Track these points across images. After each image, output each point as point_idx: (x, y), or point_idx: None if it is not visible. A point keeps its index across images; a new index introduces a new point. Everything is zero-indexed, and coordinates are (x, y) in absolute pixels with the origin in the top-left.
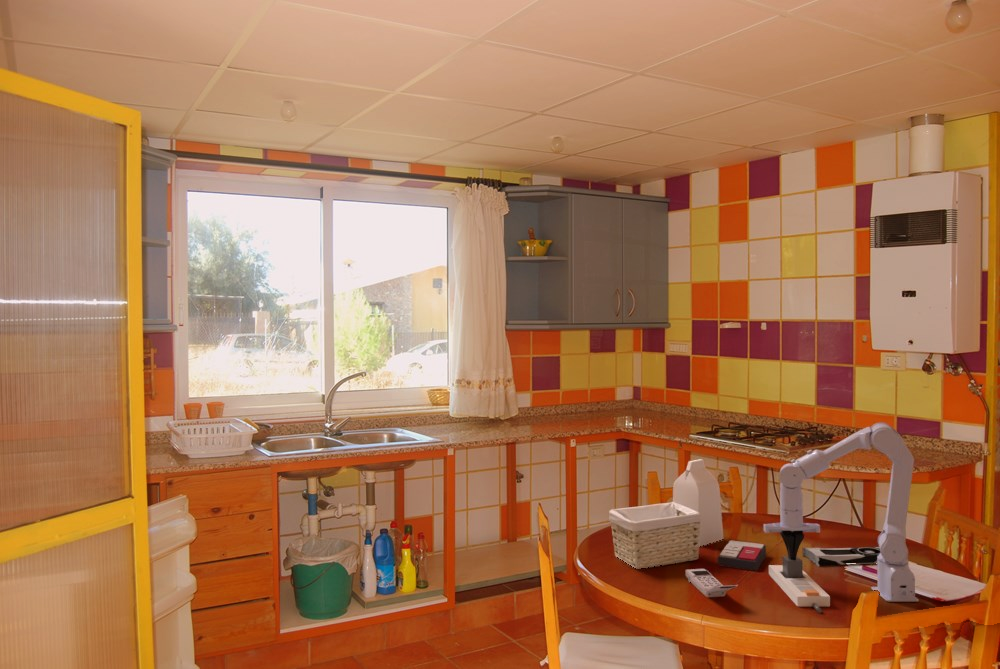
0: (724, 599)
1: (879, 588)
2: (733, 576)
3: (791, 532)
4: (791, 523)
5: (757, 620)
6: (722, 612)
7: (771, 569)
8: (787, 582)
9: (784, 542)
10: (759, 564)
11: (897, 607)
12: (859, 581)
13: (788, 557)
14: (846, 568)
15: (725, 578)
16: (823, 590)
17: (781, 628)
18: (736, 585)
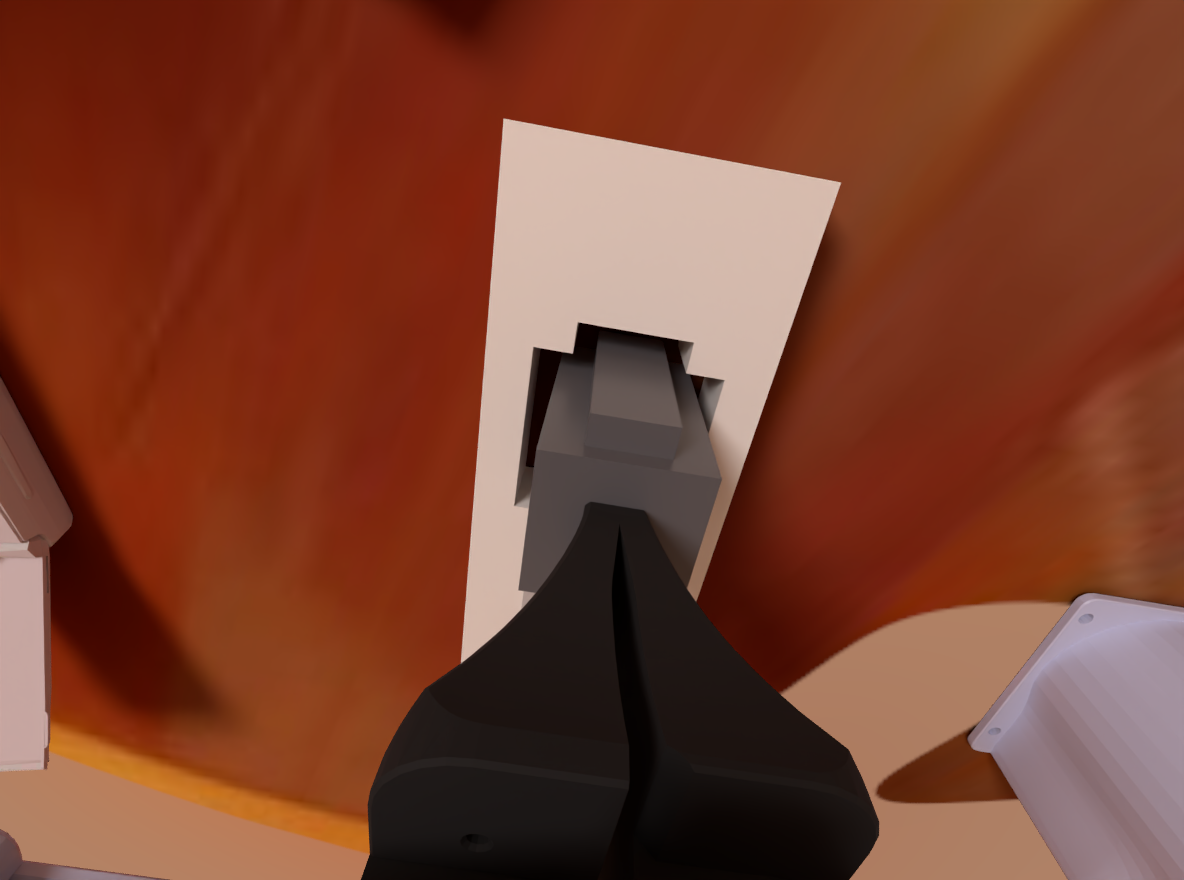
0: (75, 562)
1: (1055, 698)
2: (148, 124)
3: (628, 871)
4: None
5: (231, 769)
6: (70, 688)
7: (496, 237)
8: (490, 579)
9: (526, 608)
10: None
11: (950, 780)
12: (1160, 455)
13: (585, 503)
14: None
15: (69, 170)
16: None
17: (316, 827)
18: (39, 761)
